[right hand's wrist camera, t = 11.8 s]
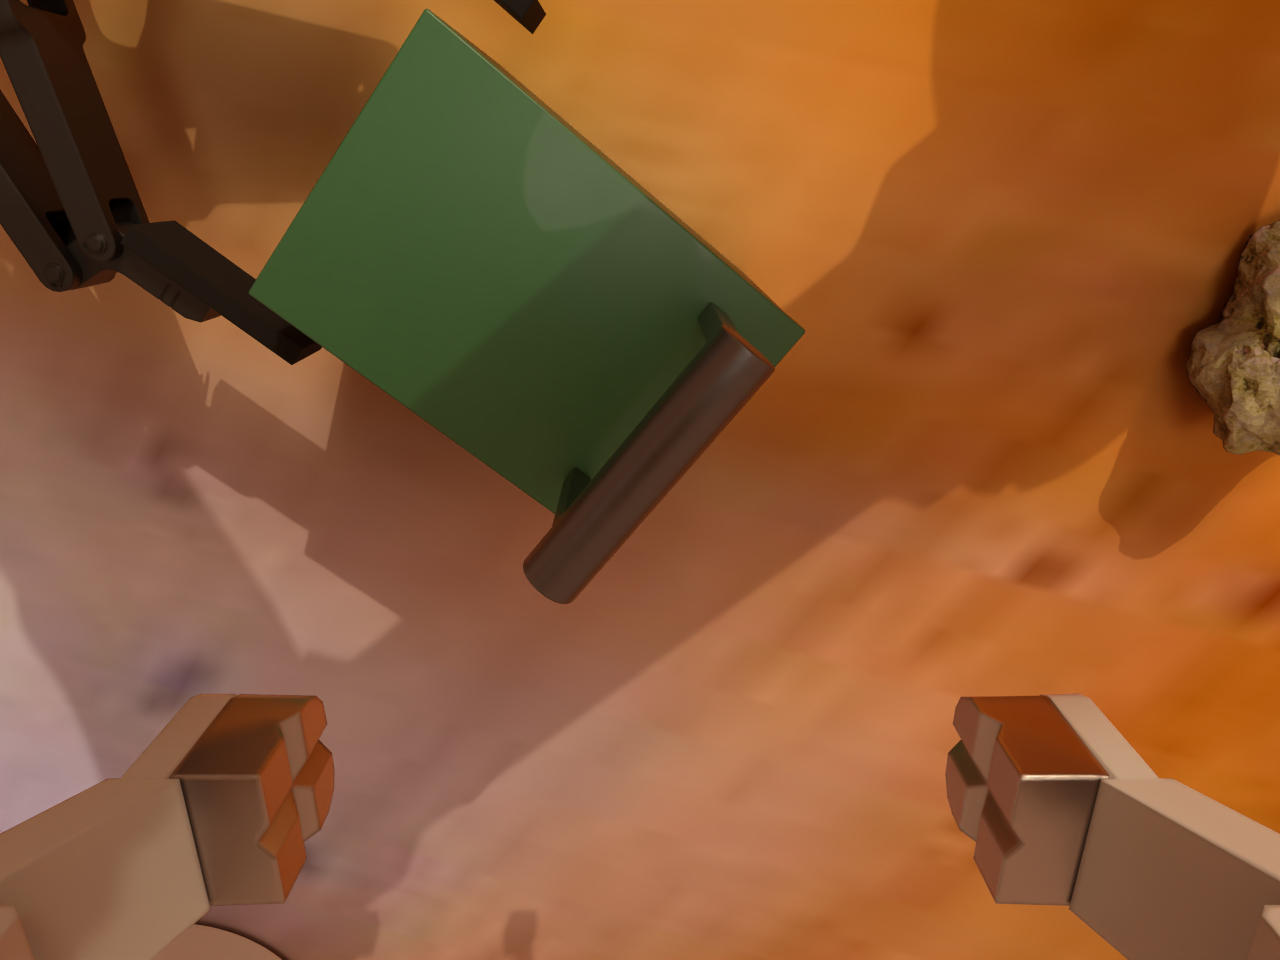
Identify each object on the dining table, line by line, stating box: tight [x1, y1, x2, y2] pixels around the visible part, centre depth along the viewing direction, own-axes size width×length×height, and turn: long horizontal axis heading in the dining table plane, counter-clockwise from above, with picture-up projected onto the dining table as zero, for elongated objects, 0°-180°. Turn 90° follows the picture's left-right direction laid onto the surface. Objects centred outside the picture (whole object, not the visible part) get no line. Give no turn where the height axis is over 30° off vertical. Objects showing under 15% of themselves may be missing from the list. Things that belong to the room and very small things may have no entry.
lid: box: [249, 9, 805, 604], centre depth 22 cm, size 14×10×8 cm
